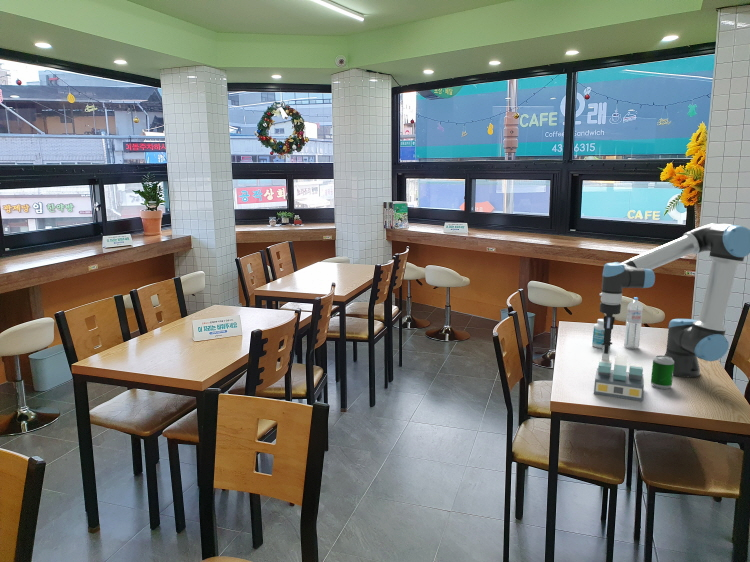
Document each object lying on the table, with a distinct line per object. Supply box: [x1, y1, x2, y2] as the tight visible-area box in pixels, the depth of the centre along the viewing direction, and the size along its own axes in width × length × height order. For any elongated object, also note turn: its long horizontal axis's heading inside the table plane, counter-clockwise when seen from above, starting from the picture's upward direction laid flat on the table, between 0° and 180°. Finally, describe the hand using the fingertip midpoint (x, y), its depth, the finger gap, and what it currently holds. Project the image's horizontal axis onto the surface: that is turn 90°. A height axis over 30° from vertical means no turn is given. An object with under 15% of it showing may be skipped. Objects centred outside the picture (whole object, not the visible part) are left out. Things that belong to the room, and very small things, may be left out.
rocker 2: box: [613, 354, 628, 381], centre depth 221 cm, size 4×12×2 cm, turn 156°
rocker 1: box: [597, 358, 613, 373], centre depth 223 cm, size 4×12×2 cm, turn 156°
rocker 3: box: [628, 363, 644, 376], centre depth 218 cm, size 4×12×2 cm, turn 156°
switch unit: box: [593, 367, 645, 402], centre depth 221 cm, size 17×14×8 cm
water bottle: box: [623, 296, 644, 350], centre depth 277 cm, size 7×7×25 cm
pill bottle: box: [591, 318, 605, 349], centre depth 279 cm, size 8×7×14 cm
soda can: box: [650, 355, 674, 390], centre depth 227 cm, size 8×8×12 cm
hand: (605, 360), depth 227 cm, fingers closed
